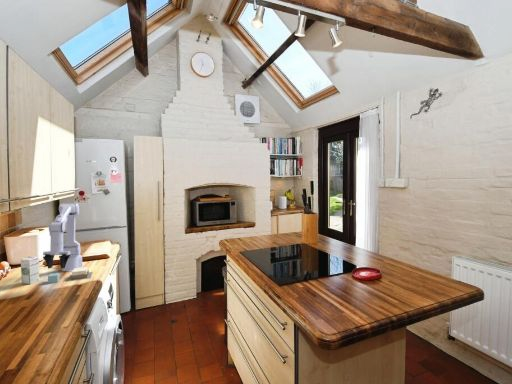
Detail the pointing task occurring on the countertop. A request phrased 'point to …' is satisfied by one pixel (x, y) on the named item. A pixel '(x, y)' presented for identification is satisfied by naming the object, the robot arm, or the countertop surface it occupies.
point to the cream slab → (79, 271)
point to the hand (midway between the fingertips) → (56, 268)
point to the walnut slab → (80, 276)
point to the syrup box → (29, 270)
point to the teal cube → (53, 278)
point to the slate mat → (81, 278)
